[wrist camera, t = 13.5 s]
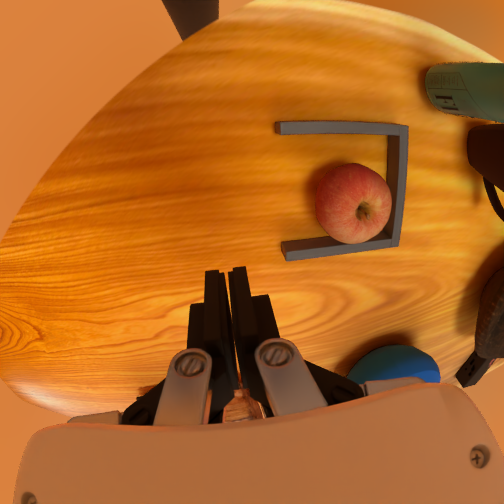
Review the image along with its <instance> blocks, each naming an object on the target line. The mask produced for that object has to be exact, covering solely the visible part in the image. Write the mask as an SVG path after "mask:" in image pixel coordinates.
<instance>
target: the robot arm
mask: <svg viewBox="0 0 504 504" xmlns="http://www.w3.org/2000/svg"><path fill="white" fill-rule="evenodd" d="M228 278H229V290H230V302H231V312H230V306H229V300H228V294H227V288H226V282H225V275H224V272H223V273H219V270H211V271H205V292H204V303H195V304H191V305H190V313H189V325H188V338H187V349H185V350H182V351H180V352H179V353H177V354H176V355H175V356H174V357H173V359H172V361H171V363H170V366H169V369H168V373H167V376H166V378H165V379H164V380H163V381H161V382H160V383H159V384H158V385H156V386H155V387H154V388H152V389H151V390H150V391H149V392H147V393H146V394H145V395H143V396H142V397H141V398H140V399H138V400H137V401H136V402H134V403H133V404H132V405H130V406H129V407H128V408H127V409H126V410H125V411H124V412H121V413H120V412H119V411H118V410H117V411H111V412H105V413H98V414H91V415H83V416H76V417H73V418H71V419H70V420H69V421H68V422H67V423H64V424H57V425H53V426H49V427H46V428H43V429H41V430H39V431H37V432H36V433H35V434H34V435H33V436H32V437H31V439H30V440H29V442H28V444H27V446H26V449H25V451H24V454H23V456H22V460H21V463H20V467H19V471H18V475H17V480H16V485H15V491H14V499H13V504H504V456H503V454H502V451H501V449H500V447H499V445H498V443H497V441H496V439H495V437H494V435H493V433H492V431H491V429H490V427H489V426H488V424H487V422H486V421H485V419H484V417H483V416H482V414H481V412H480V411H479V410H478V408H477V407H476V405H475V404H474V403H473V401H472V400H471V399H470V398H469V396H468V395H467V394H466V393H465V392H464V391H462V390H461V389H460V388H458V387H457V386H454V385H451V384H446V383H426V382H425V381H424V380H423V379H421V378H419V377H403V378H395V379H385V380H375V381H365V384H357V383H356V382H354V381H352V380H350V379H347V378H345V377H343V376H340V375H338V374H335V373H333V372H331V371H328V370H326V369H324V368H322V367H319V366H317V365H315V364H312V363H310V362H308V361H306V360H304V359H303V358H302V356H301V354H300V352H299V351H298V349H297V347H296V346H295V345H294V343H292V342H291V341H289V340H286V339H283V338H280V335H279V332H278V328H277V324H276V320H275V317H274V313H273V309H272V306H271V302H270V298H269V295H268V294H267V295H259V296H252V297H251V293H250V287H249V282H248V276H247V271H246V266H243V267H235V268H233V271H231V272H228ZM231 313H232V318H231ZM234 341H235V344H234ZM235 347H236V352H237V358H238V363H239V368H240V373H241V379H242V384H243V389H248V388H249V393H250V397H251V398H253V399H254V400H256V401H258V402H260V404H261V408H262V411H263V414H264V416H265V418H264V419H257V420H249V421H240V422H231V423H225V421H226V405H227V404H228V403H229V402H230V401H231V400H232V399H233V398H235V395H234V390H239V382H238V373H237V363H236V354H235Z"/></svg>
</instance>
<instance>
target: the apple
mask: <svg viewBox="0 0 504 504" xmlns="http://www.w3.org/2000/svg"><path fill="white" fill-rule="evenodd" d="M391 207H392V197H391V192H390V189H389V187H388V185H387V183H386V182H385V180H384V179H383V178H382V177H381V176H380V175H379V174H378V173H376V172H375V171H373V170H371V169H369V168H368V167H365V166H363V165H360V164H355V163H351V164H346V165H343V166H340V167H337V168H335V169H332V170H330V171H329V172H328V173H326V175H325V176H324V177H323V178H322V179H321V181H320V183H319V185H318V187H317V191H316V197H315V211H316V216H317V220H318V221H319V223H320V225H321V226H322V227H323V229H324V230H325V231H326V232H327V233H328V234H329V235H330V236H331V237H332V238H334V239H336V240H338V241H340V242H343V243H347V244H358V243H362V242H365V241H367V240H369V239H371V238H372V237H374V236H376V235H377V234H378V233H379V232H380V231H381V230H382V229H383V228H384V226H385V225H386V223H387V222H388V219H389V216H390V212H391Z"/></svg>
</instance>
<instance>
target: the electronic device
mask: <svg viewBox="0 0 504 504" xmlns="http://www.w3.org/2000/svg"><path fill="white" fill-rule="evenodd" d="M495 360H496V358H493V357H492V358H489V359H486V358H481V357H480V356H479V355H478V354H477V352H476V351H474V353H473V354H472V355H471V357H470V358H469V359H468V361H467V362H466V363H465V364H464V366H463V367H462V368H461V369H460V371H459V372H458V373H457V374H456V378H457V379H458V381H459V382H460V384H461V385H462V387H463V388H465V387H468V386H472V385H475V384H476V383H477V382H478V381H479V380H480V378H481V377H482V376H483V375H484V374H485V372H486V371H487V370H488V369H489V367H490V366H491V365H492V364H493V362H494V361H495Z"/></svg>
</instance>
